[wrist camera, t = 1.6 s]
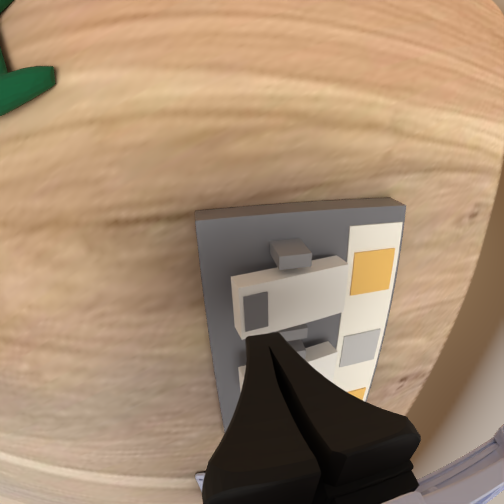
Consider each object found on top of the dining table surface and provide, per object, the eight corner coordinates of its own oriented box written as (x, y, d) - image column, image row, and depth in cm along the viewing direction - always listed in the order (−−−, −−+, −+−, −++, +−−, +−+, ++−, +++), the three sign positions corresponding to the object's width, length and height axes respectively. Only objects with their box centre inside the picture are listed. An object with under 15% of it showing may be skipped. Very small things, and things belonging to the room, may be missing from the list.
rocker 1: (332, 301, 19) (344, 312, 18) (234, 326, 17) (242, 340, 16) (336, 255, 17) (349, 264, 16) (230, 276, 16) (238, 288, 15)
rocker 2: (323, 373, 21) (332, 385, 20) (241, 399, 19) (247, 413, 18) (328, 340, 20) (338, 352, 19) (238, 367, 18) (245, 381, 17)
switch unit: (352, 409, 27) (367, 438, 24) (225, 433, 25) (231, 468, 22) (390, 197, 19) (426, 215, 16) (195, 210, 17) (195, 235, 14)
